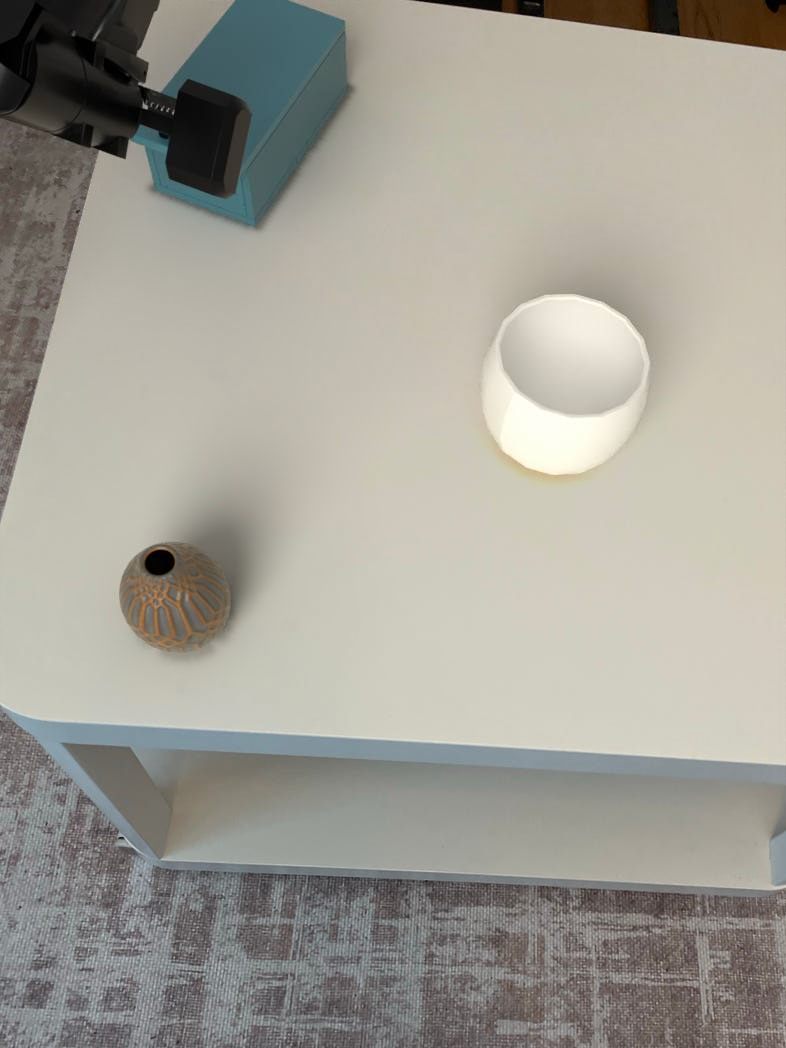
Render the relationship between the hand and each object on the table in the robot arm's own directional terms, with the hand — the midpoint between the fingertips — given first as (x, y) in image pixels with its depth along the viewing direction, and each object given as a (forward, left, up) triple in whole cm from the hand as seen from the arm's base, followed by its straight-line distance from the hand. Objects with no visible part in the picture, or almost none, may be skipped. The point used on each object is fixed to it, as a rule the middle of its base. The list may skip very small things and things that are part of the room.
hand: (170, 129), depth 69 cm
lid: (+4, +11, -3) cm, 12 cm away
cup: (+30, -19, -9) cm, 37 cm away
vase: (+4, -36, -9) cm, 38 cm away
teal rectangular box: (+4, +11, -9) cm, 15 cm away
